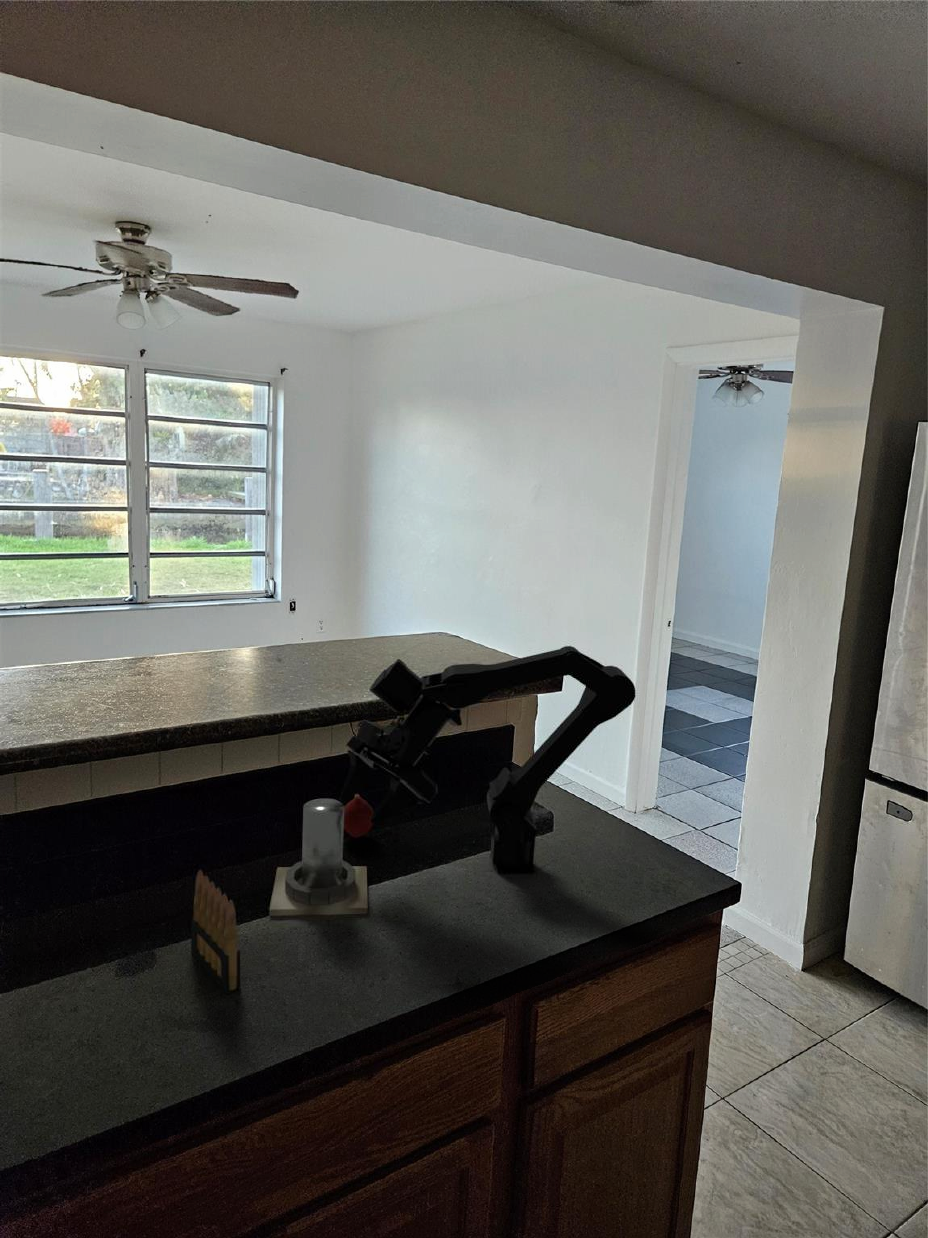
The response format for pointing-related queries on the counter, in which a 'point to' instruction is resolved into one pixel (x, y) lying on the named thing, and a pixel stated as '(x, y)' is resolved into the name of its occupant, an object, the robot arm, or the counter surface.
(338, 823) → the steel peg
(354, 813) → the onion
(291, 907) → the socket plate
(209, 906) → the ammunition clip
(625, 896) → the counter surface
